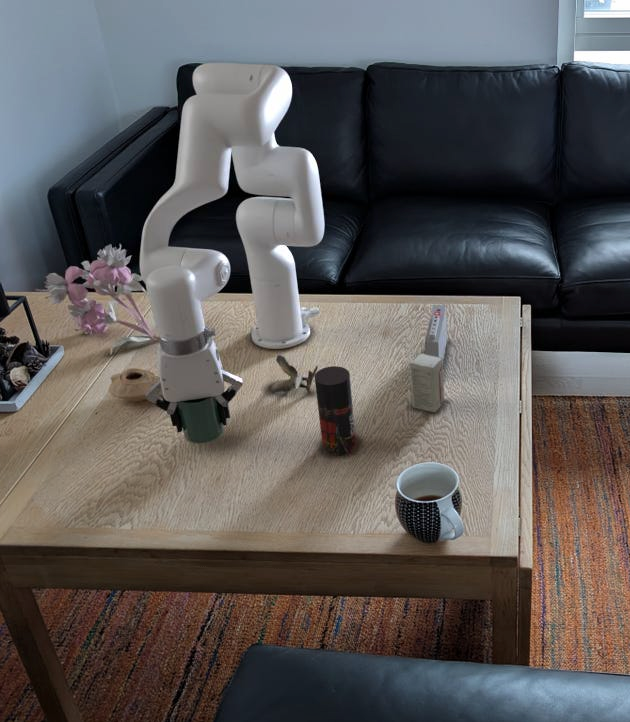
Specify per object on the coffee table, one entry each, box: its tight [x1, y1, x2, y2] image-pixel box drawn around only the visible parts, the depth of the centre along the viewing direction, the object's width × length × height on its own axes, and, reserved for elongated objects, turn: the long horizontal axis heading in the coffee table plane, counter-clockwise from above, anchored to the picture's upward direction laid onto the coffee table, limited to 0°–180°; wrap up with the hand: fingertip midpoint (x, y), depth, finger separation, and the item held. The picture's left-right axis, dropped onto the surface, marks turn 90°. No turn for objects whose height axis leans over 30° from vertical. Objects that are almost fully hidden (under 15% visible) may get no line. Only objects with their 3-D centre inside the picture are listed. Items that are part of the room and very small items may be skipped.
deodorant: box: [314, 365, 357, 457], centre depth 146 cm, size 6×6×15 cm
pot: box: [177, 396, 225, 445], centre depth 146 cm, size 7×7×8 cm
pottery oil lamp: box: [108, 368, 164, 403], centre depth 160 cm, size 9×12×7 cm
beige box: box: [409, 352, 445, 413], centre depth 158 cm, size 5×4×10 cm
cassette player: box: [424, 304, 448, 359], centre depth 172 cm, size 16×3×10 cm, turn 176°
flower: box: [35, 243, 159, 355], centre depth 177 cm, size 20×22×25 cm
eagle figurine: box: [267, 354, 319, 395], centre depth 163 cm, size 8×7×9 cm
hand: (202, 423), depth 147 cm, fingers closed on pot, 7 cm apart
